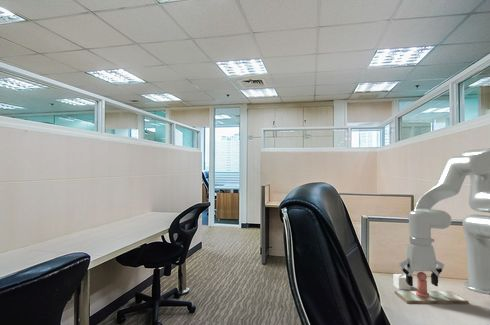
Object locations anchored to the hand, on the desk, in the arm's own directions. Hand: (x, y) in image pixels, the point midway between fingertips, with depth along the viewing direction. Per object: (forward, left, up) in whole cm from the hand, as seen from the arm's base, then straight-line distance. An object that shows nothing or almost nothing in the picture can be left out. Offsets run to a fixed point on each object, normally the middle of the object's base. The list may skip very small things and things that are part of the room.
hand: (422, 285), depth 117 cm
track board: (-3, 0, -5) cm, 6 cm away
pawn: (0, 0, -4) cm, 4 cm away
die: (+2, -12, -5) cm, 13 cm away
